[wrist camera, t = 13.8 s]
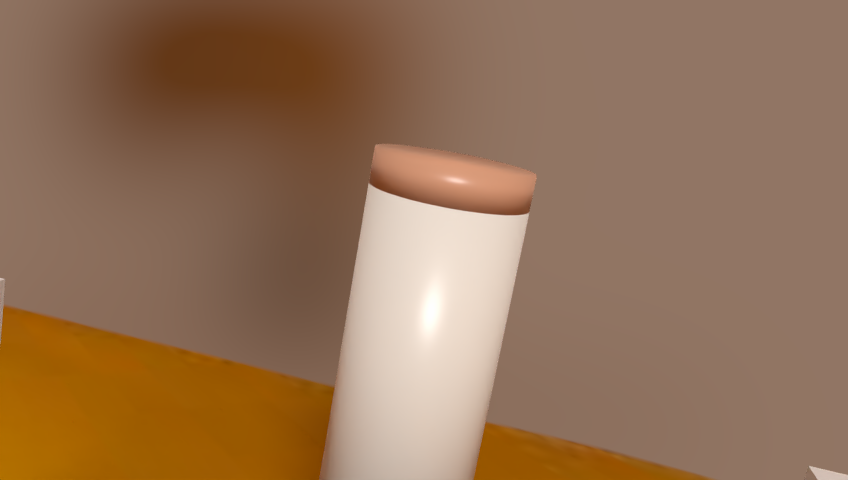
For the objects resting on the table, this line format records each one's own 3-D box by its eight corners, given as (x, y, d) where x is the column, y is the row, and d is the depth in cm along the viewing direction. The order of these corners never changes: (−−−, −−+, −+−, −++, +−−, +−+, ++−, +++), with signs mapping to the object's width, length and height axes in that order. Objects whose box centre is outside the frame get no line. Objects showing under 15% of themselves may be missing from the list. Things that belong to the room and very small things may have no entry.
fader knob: (313, 554, 23) (384, 136, 20) (465, 596, 22) (556, 170, 20) (245, 677, 18) (327, 147, 16) (436, 735, 17) (552, 192, 15)
